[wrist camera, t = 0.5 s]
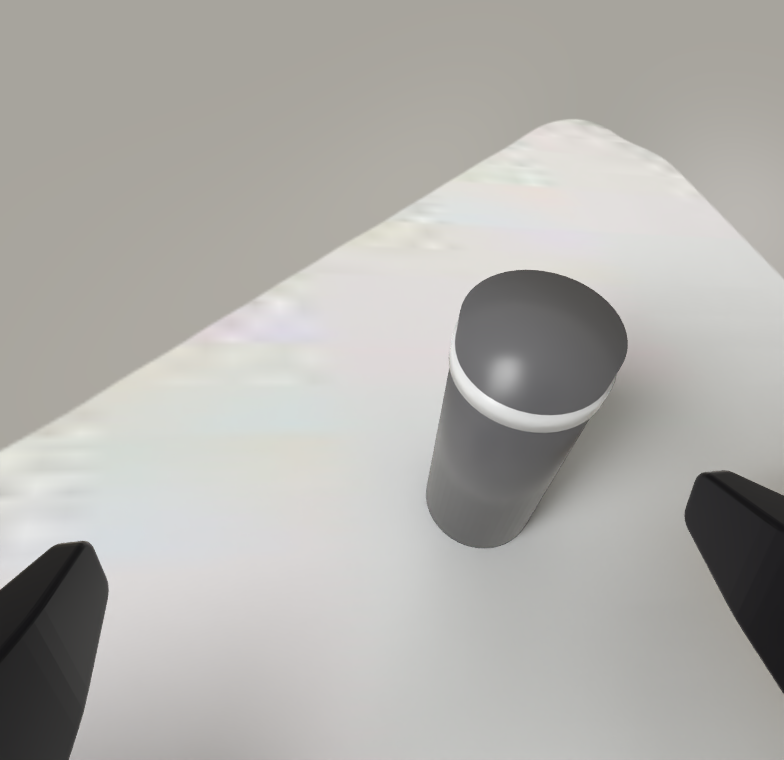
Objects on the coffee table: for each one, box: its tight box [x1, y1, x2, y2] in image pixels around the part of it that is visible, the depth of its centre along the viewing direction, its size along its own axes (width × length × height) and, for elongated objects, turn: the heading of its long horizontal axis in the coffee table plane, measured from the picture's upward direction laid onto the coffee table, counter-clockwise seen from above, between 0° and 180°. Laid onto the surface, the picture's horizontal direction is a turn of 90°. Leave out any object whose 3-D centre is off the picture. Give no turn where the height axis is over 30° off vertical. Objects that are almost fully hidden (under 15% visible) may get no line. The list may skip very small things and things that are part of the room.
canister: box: [426, 270, 628, 548], centre depth 21 cm, size 5×5×12 cm
